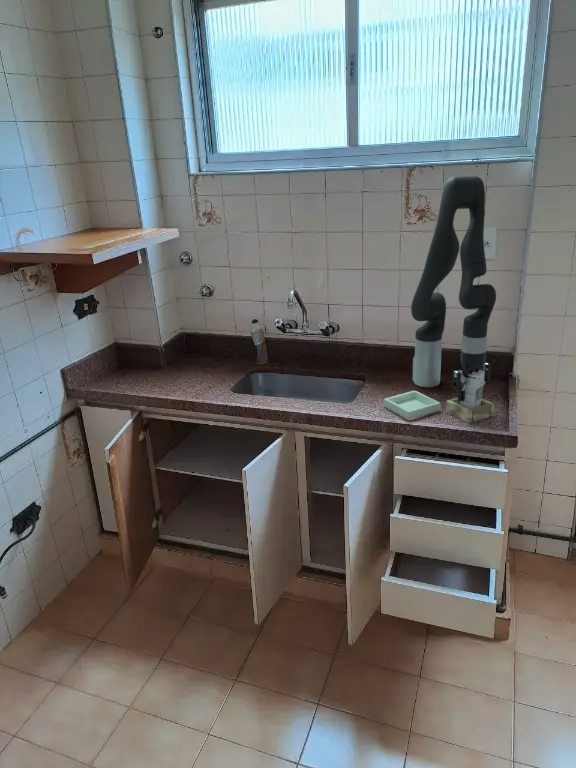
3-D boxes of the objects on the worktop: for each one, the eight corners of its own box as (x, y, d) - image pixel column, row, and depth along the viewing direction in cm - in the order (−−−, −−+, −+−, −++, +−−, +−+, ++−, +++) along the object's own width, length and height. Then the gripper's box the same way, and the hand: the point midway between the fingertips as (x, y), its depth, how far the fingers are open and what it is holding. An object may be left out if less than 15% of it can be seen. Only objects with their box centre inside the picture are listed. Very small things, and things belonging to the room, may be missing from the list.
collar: (445, 411, 190) (446, 400, 189) (469, 404, 195) (470, 393, 193) (468, 423, 182) (469, 411, 180) (493, 415, 186) (494, 403, 184)
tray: (383, 407, 196) (384, 398, 195) (414, 398, 202) (414, 390, 201) (408, 420, 186) (408, 412, 184) (440, 411, 191) (440, 402, 190)
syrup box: (464, 407, 192) (467, 366, 187) (481, 411, 188) (484, 369, 183) (456, 413, 188) (459, 371, 183) (474, 418, 184) (477, 375, 179)
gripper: (482, 341, 186) (478, 389, 192) (447, 350, 180) (444, 398, 186) (500, 347, 180) (495, 396, 186) (464, 356, 174) (461, 407, 180)
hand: (470, 397), depth 186 cm, fingers closed on syrup box, 7 cm apart
